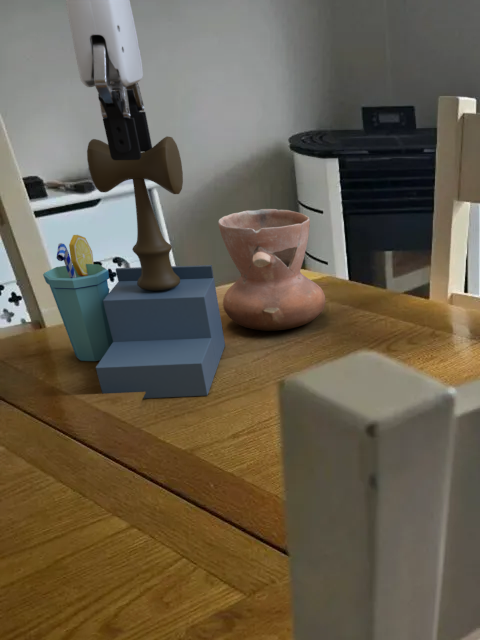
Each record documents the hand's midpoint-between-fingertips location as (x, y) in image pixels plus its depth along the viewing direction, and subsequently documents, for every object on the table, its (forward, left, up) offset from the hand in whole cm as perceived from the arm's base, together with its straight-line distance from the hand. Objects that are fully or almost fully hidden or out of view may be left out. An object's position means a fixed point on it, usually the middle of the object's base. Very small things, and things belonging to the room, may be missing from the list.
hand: (132, 153), depth 94 cm
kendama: (0, 0, -15) cm, 15 cm away
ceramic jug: (+12, +14, -24) cm, 31 cm away
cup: (-11, +2, -24) cm, 26 cm away
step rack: (0, -4, -24) cm, 24 cm away
